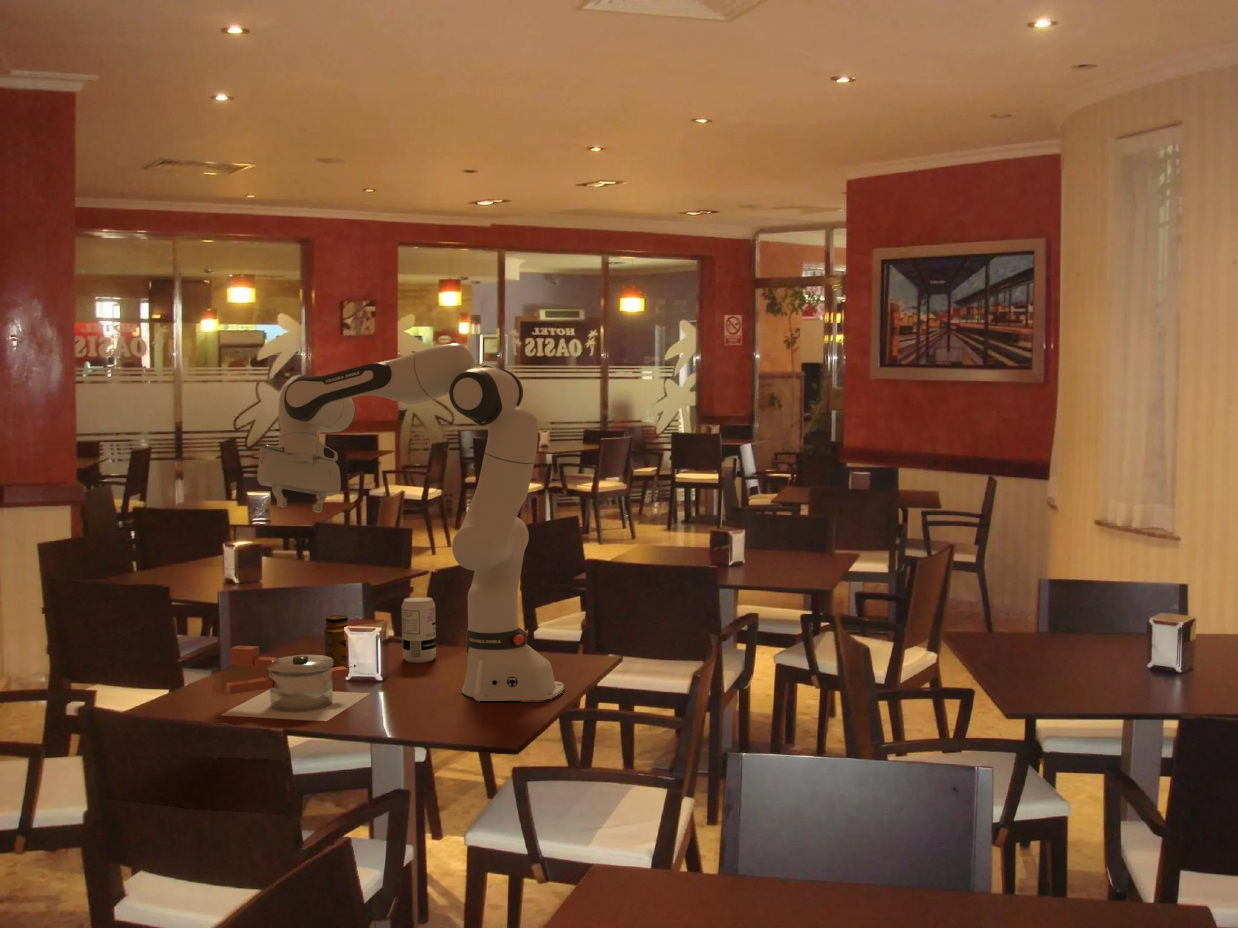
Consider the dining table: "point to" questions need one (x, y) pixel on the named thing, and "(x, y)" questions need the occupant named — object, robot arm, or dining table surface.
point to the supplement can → (418, 629)
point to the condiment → (336, 639)
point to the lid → (280, 661)
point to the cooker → (294, 689)
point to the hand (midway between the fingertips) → (300, 509)
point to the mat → (262, 709)
